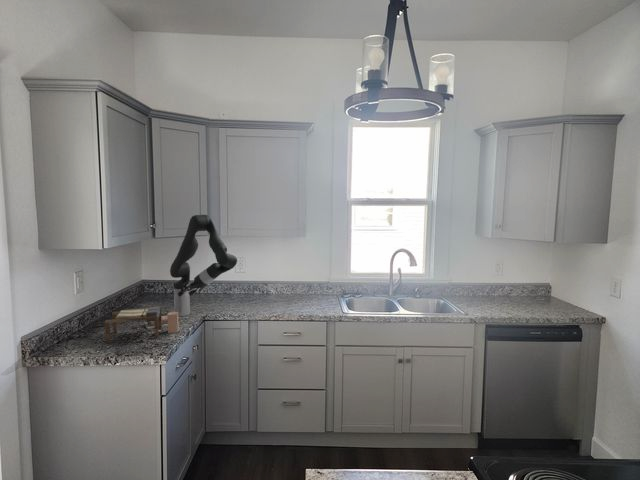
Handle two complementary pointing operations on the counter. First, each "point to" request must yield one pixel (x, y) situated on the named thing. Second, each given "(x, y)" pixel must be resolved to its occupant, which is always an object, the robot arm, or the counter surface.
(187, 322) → the counter surface
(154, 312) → the trapdoor
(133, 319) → the wooden legged stool
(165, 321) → the packaged product
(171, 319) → the block
